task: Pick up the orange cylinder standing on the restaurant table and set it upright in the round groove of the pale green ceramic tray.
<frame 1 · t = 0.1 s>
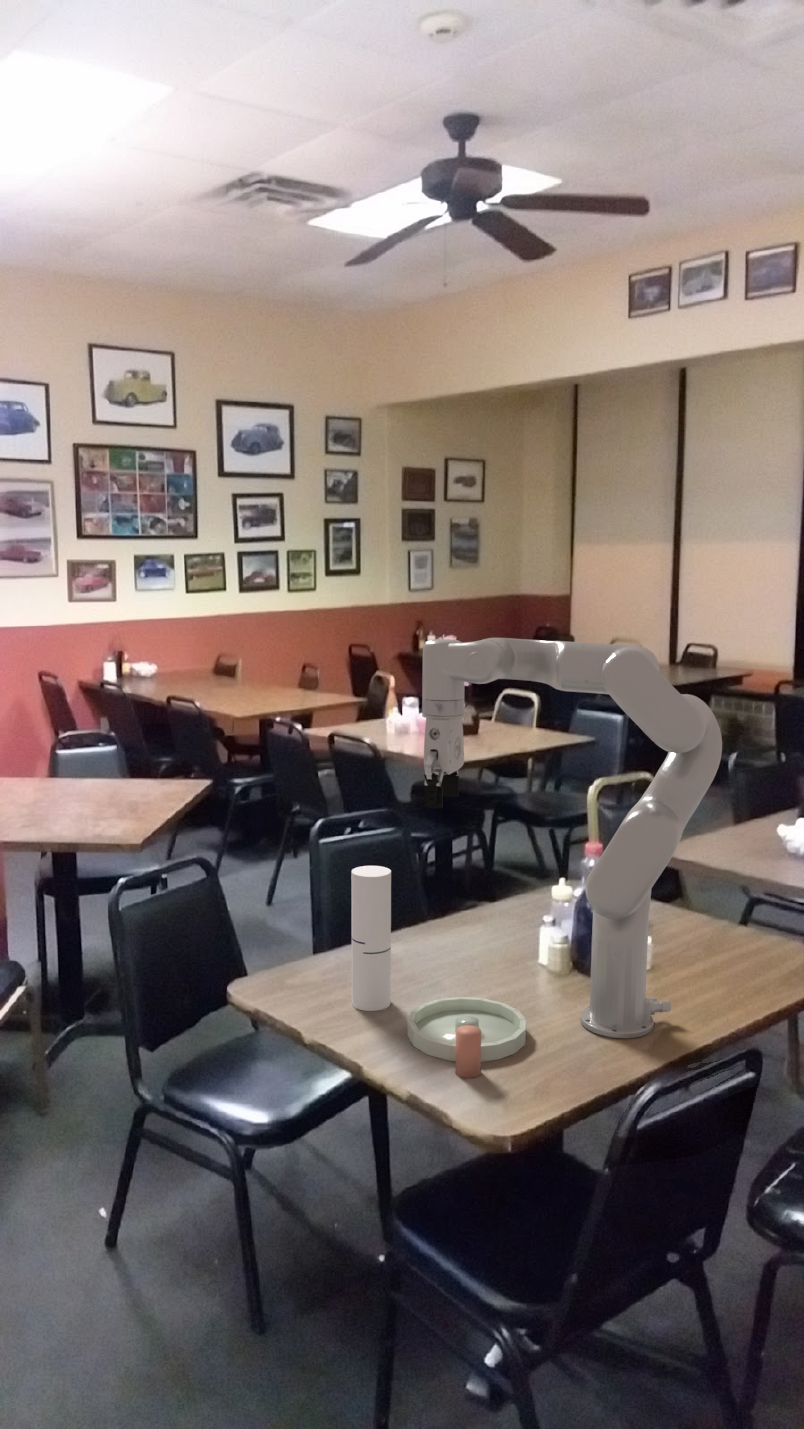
hand: (442, 802, 194), 37 cm above the table, tool pointing down, fingers open, 9 cm apart
groove tray: (466, 1034, 183), on the table
cylindrical container: (371, 1003, 196), on the table
orange cylinder: (467, 1072, 170), on the table
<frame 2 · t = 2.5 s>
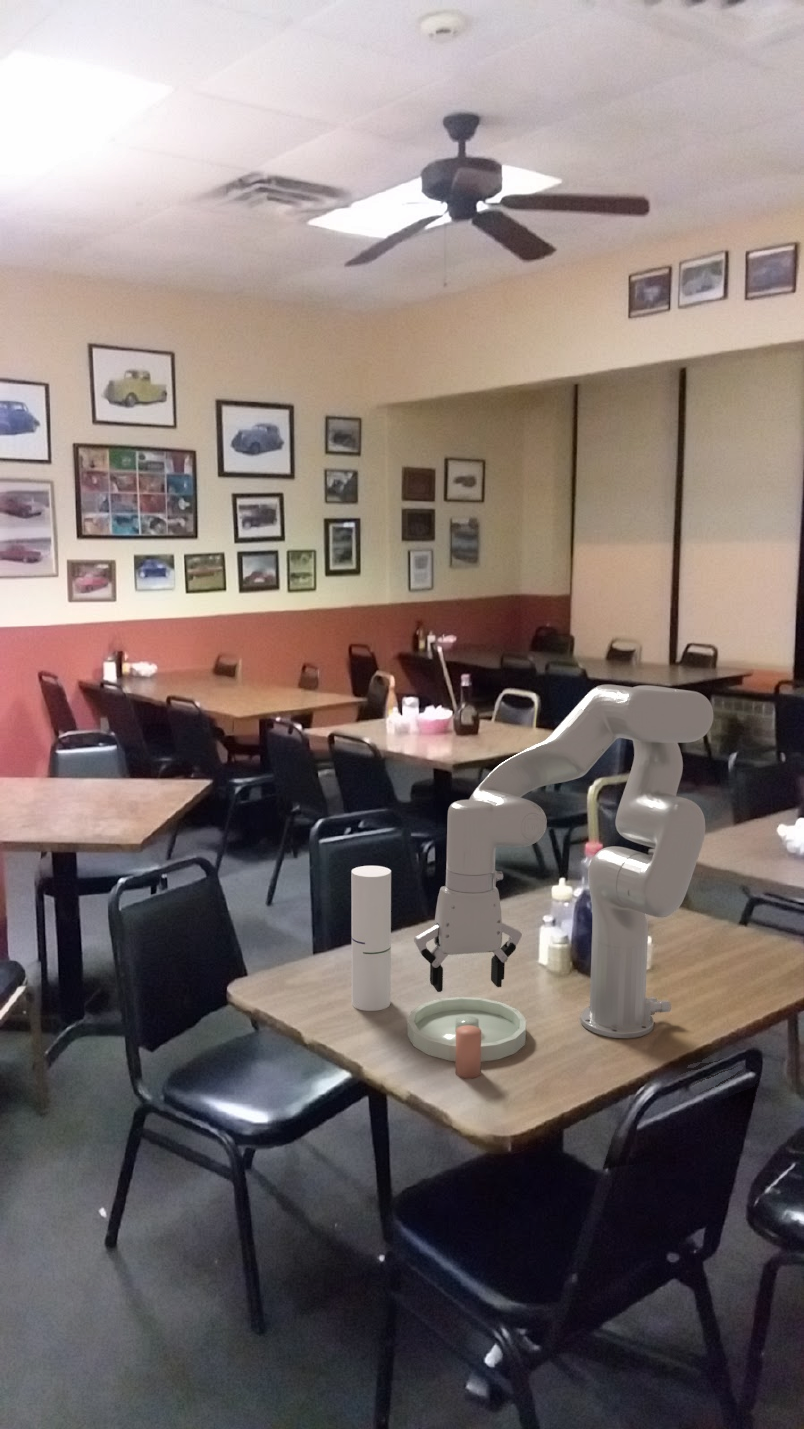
hand: (466, 986, 167), 14 cm above the table, tool pointing down, fingers open, 9 cm apart
nothing on the table moved.
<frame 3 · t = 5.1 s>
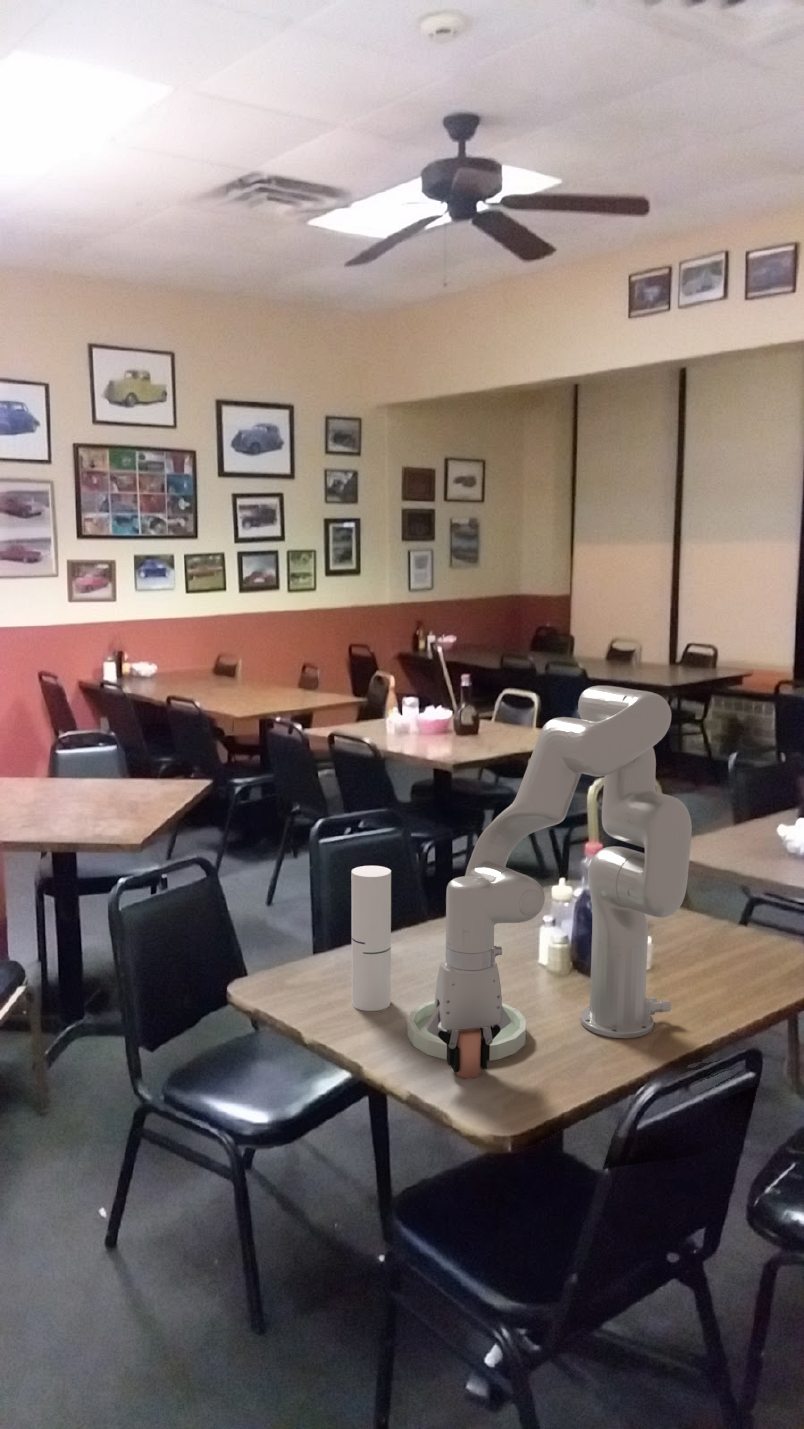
hand: (467, 1065, 169), 1 cm above the table, tool pointing down, fingers closed on orange cylinder, 3 cm apart
orange cylinder: (467, 1072, 170), on the table, touching gripper
everything else where it was.
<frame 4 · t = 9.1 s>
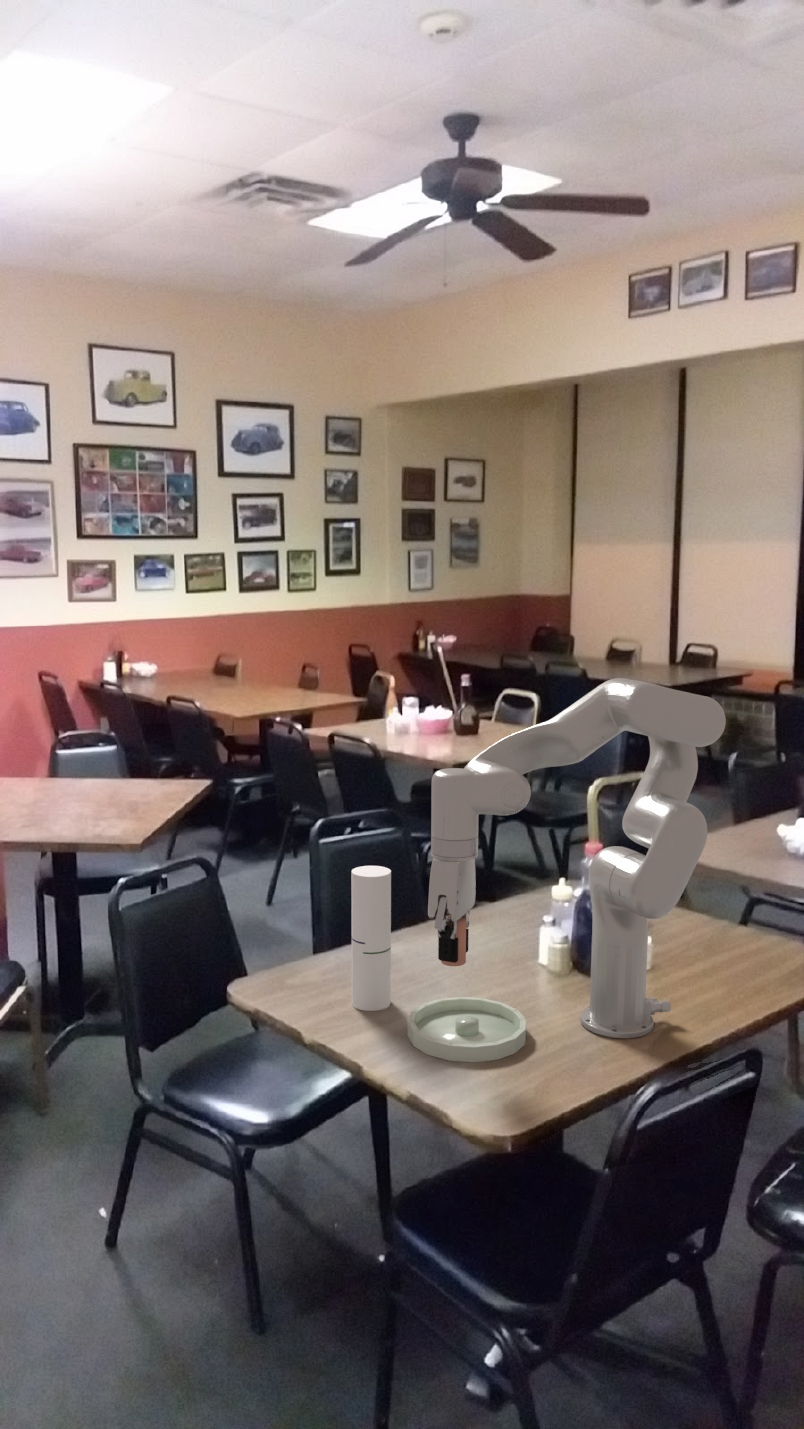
hand: (453, 954, 173), 17 cm above the table, tool pointing down, fingers closed on orange cylinder, 3 cm apart
orange cylinder: (453, 961, 173), point 16 cm above the table, touching gripper
everything else where it was.
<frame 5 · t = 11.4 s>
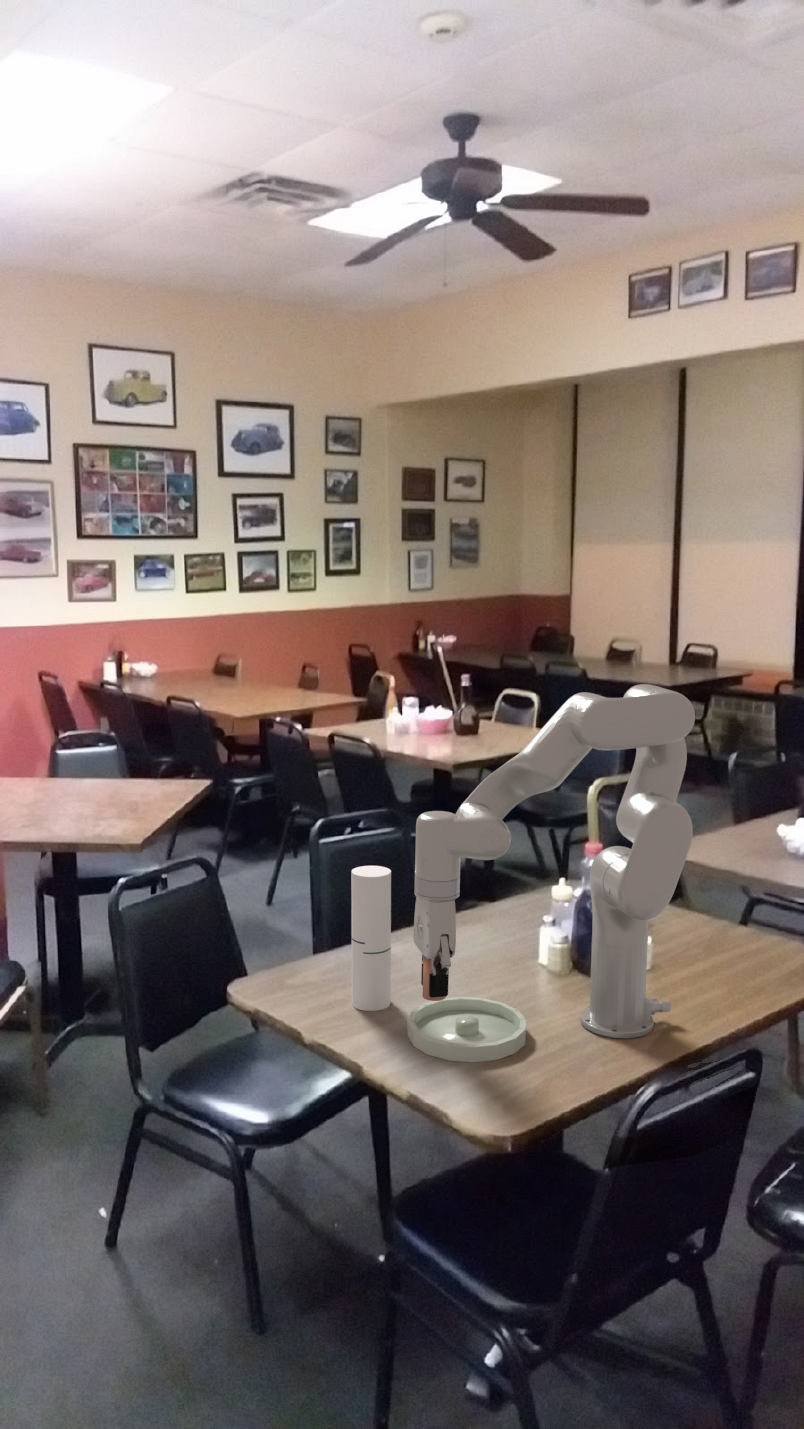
hand: (434, 989, 180), 9 cm above the table, tool pointing down, fingers closed on orange cylinder, 3 cm apart
orange cylinder: (434, 996, 181), point 8 cm above the table, touching gripper
everything else where it was.
when the fingers open (3 cm above the table, at t = 13.1 s): orange cylinder drops 1 cm, resting on groove tray.
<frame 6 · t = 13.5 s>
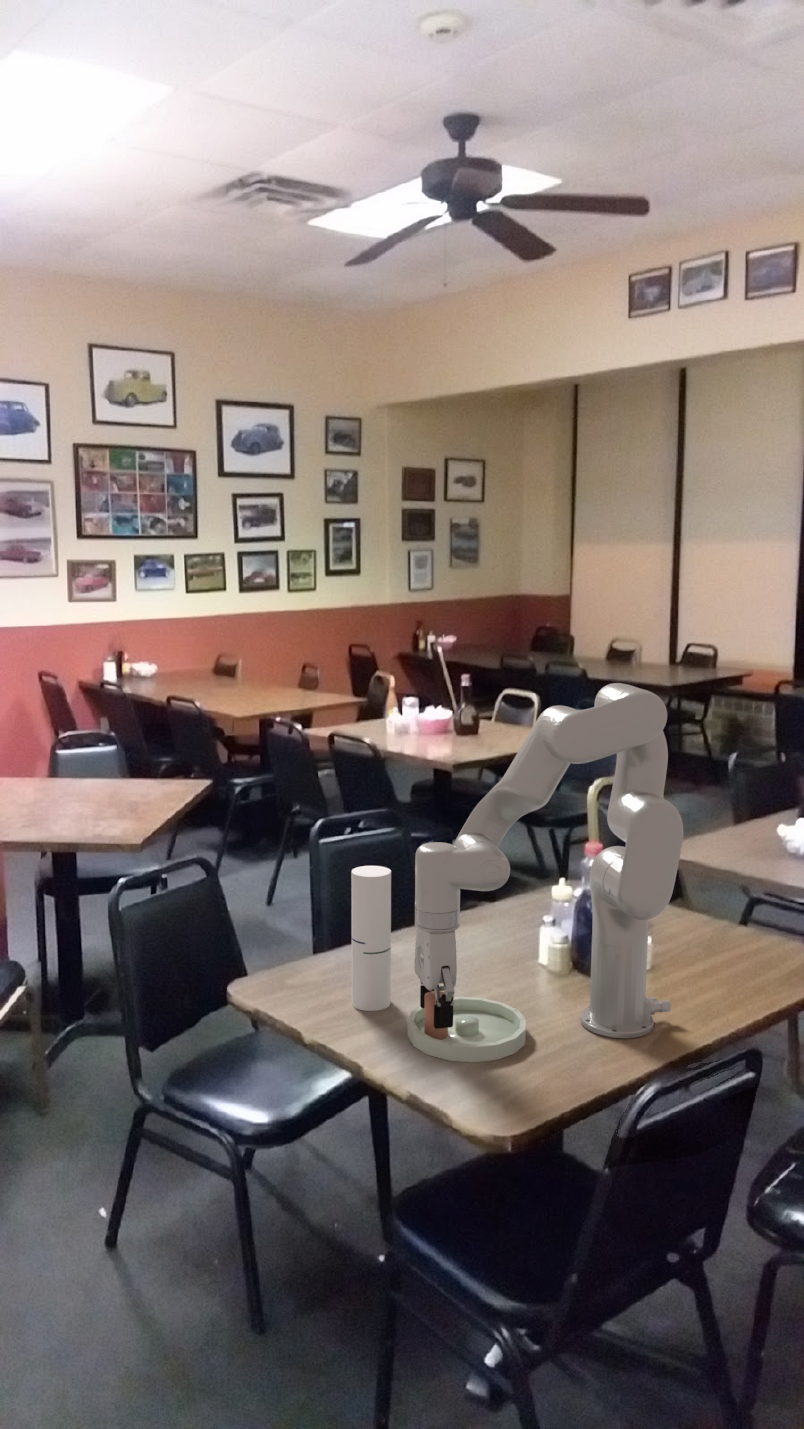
hand: (436, 1016, 181), 4 cm above the table, tool pointing down, fingers open, 7 cm apart
orange cylinder: (436, 1034, 182), point 1 cm above the table, touching groove tray
everything else where it was.
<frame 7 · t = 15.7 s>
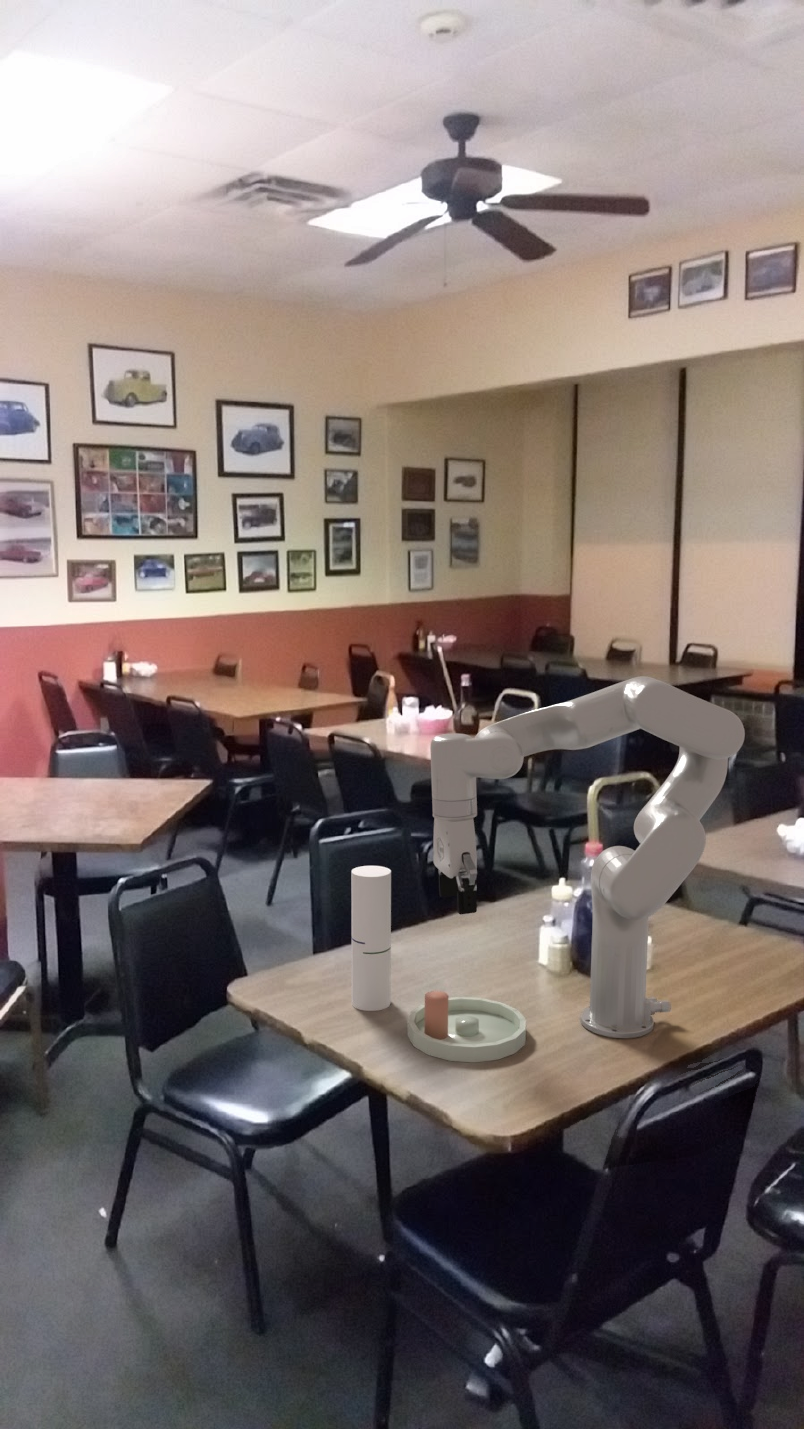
hand: (457, 904, 183), 22 cm above the table, tool pointing down, fingers open, 9 cm apart
nothing on the table moved.
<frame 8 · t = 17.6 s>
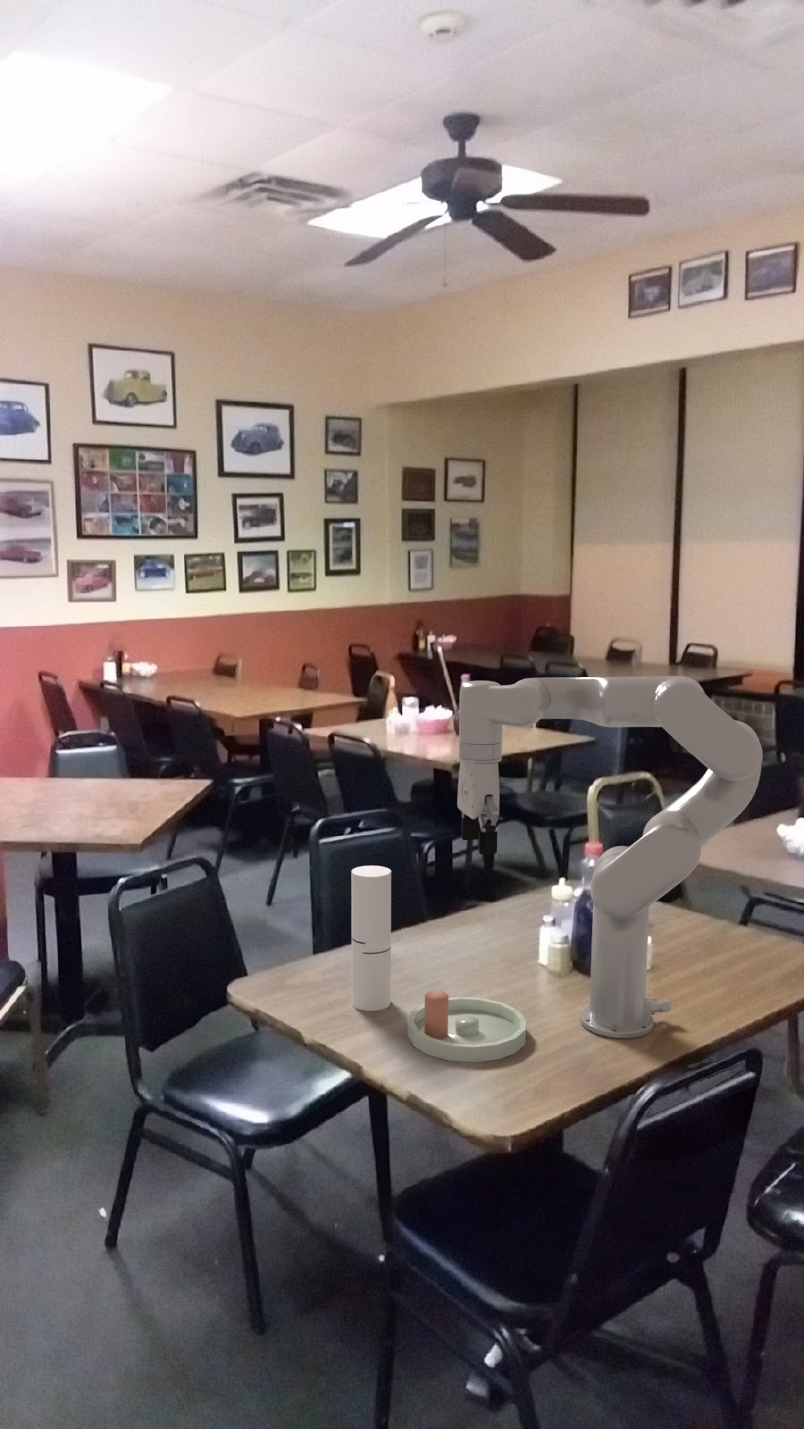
hand: (478, 846, 190), 30 cm above the table, tool pointing down, fingers open, 9 cm apart
nothing on the table moved.
at the end: orange cylinder 0.2 cm from the target spot on the groove tray, point 0.6 cm above the groove tray's base; orange cylinder tilted 0°; the gripper is holding nothing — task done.
